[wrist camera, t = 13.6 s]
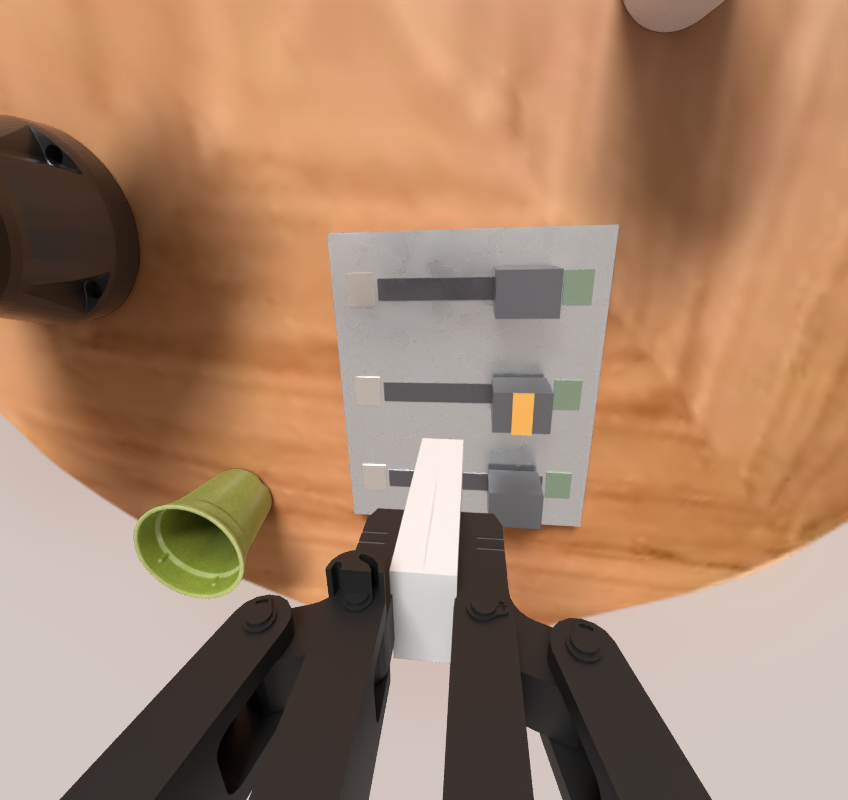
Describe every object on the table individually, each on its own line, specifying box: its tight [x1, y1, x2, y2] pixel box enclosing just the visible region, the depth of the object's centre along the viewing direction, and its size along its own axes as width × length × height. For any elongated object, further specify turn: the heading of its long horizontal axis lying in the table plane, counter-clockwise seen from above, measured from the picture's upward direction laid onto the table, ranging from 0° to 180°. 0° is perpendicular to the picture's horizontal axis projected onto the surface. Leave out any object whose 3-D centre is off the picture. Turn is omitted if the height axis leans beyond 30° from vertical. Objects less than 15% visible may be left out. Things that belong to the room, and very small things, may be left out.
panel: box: [327, 224, 619, 527], centre depth 34 cm, size 20×24×2 cm
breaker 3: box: [487, 470, 544, 529], centre depth 33 cm, size 4×3×4 cm
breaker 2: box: [491, 377, 554, 436], centre depth 30 cm, size 4×3×4 cm
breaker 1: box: [494, 266, 564, 319], centre depth 28 cm, size 4×3×4 cm
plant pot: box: [134, 469, 272, 599], centre depth 38 cm, size 9×9×9 cm
